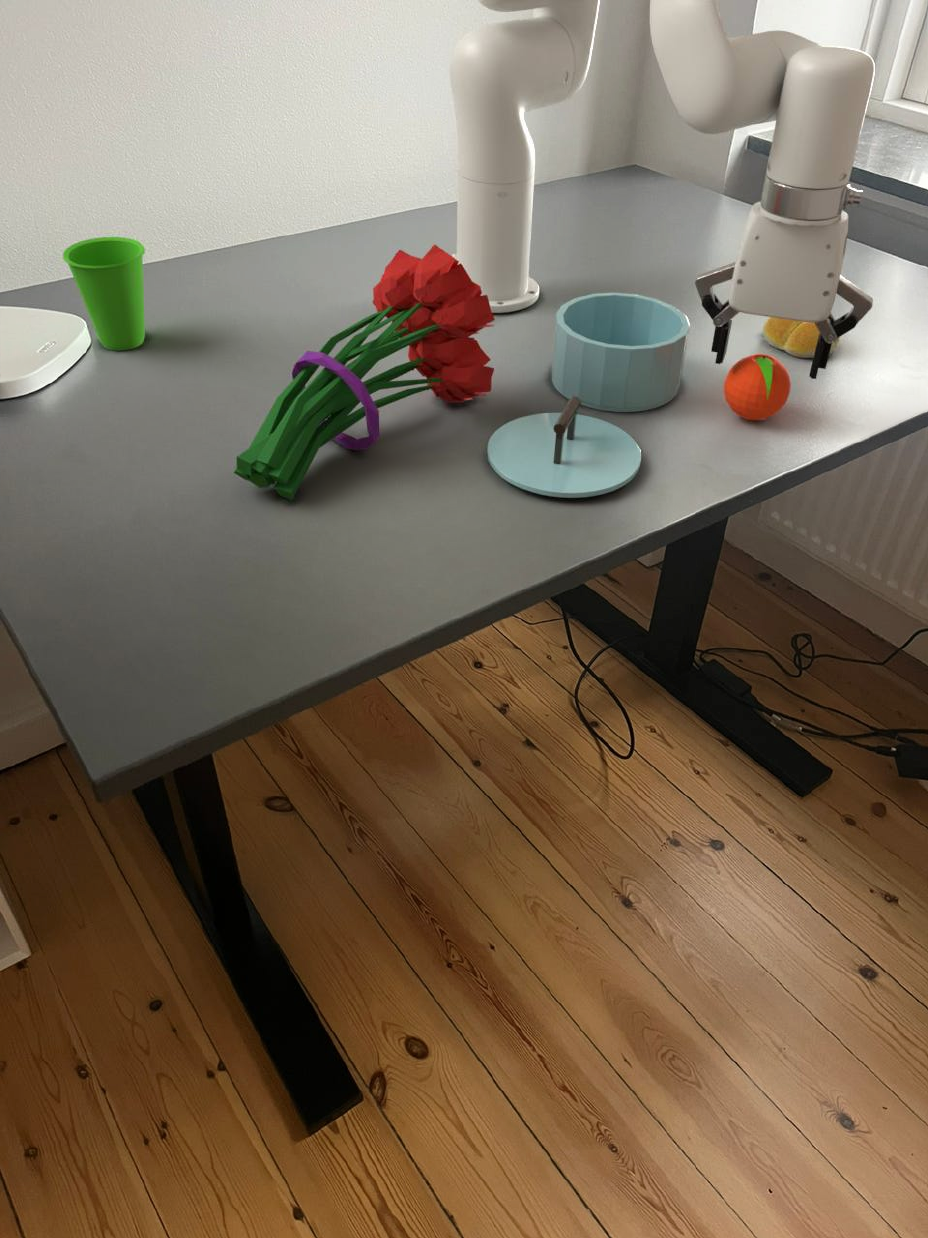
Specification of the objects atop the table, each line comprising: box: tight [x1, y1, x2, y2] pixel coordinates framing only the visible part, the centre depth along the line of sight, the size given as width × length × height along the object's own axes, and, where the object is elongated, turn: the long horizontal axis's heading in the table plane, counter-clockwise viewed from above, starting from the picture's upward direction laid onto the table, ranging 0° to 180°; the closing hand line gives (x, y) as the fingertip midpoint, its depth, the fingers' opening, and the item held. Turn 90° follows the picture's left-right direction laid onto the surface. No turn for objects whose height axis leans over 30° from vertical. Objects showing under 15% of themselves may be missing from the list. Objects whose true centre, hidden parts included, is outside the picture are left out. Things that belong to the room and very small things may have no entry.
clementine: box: [723, 353, 792, 421], centre depth 108 cm, size 8×7×7 cm
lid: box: [486, 396, 642, 499], centre depth 102 cm, size 16×16×6 cm
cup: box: [62, 236, 146, 351], centre depth 119 cm, size 9×9×11 cm
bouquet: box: [233, 244, 495, 501], centre depth 101 cm, size 20×16×30 cm
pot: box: [550, 292, 691, 413], centre depth 114 cm, size 15×15×8 cm
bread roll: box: [762, 317, 840, 359], centre depth 124 cm, size 8×9×4 cm
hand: (766, 365), depth 106 cm, fingers open, 9 cm apart
